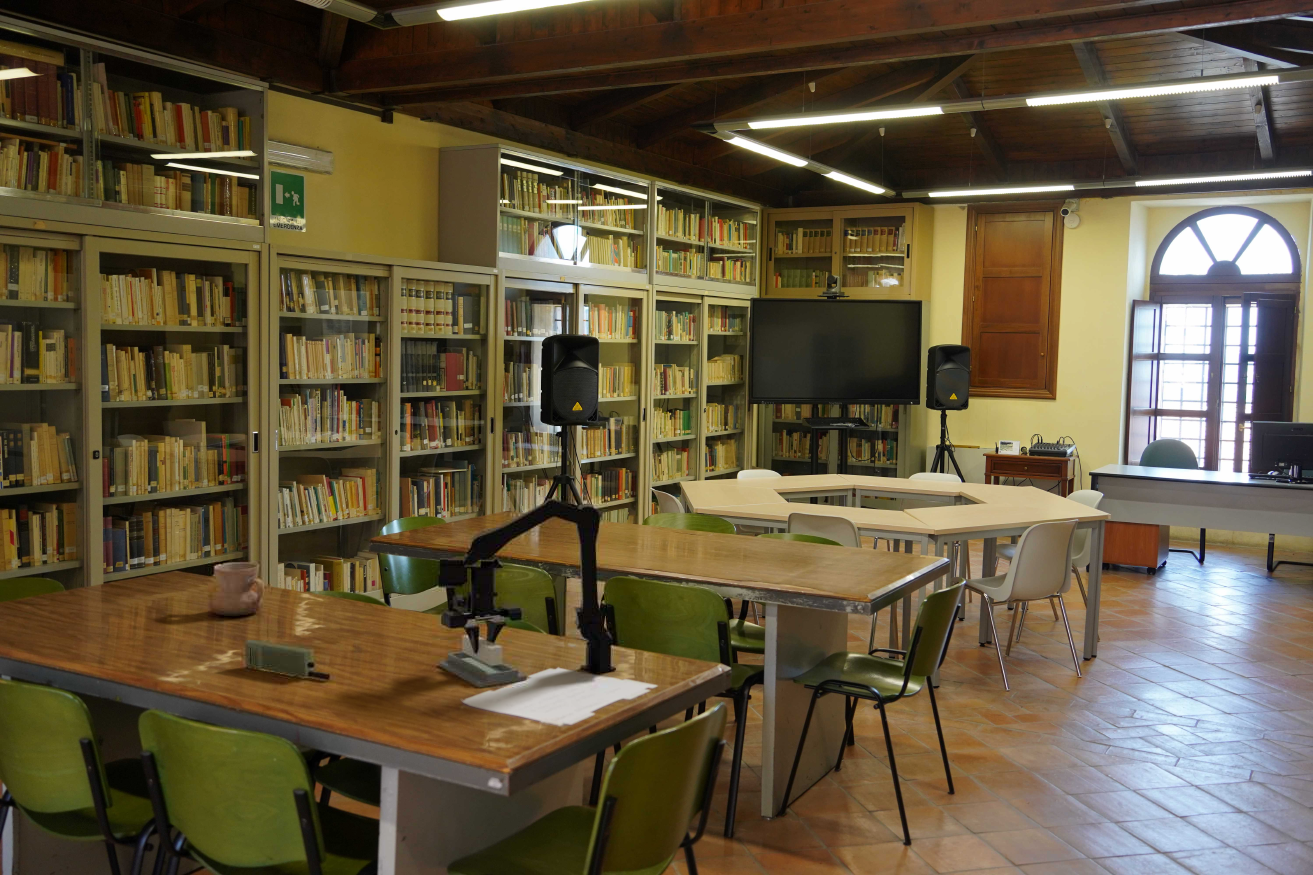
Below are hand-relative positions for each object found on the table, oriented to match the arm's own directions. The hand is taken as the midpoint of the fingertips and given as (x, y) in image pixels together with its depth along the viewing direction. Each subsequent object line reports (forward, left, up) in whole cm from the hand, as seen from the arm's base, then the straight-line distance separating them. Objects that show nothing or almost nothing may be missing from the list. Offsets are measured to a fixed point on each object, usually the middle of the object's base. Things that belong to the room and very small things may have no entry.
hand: (482, 652), depth 250 cm
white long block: (0, 0, -1) cm, 1 cm away
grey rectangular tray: (0, 0, -5) cm, 5 cm away
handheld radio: (+22, +39, -5) cm, 45 cm away
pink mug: (+93, +32, -5) cm, 98 cm away
